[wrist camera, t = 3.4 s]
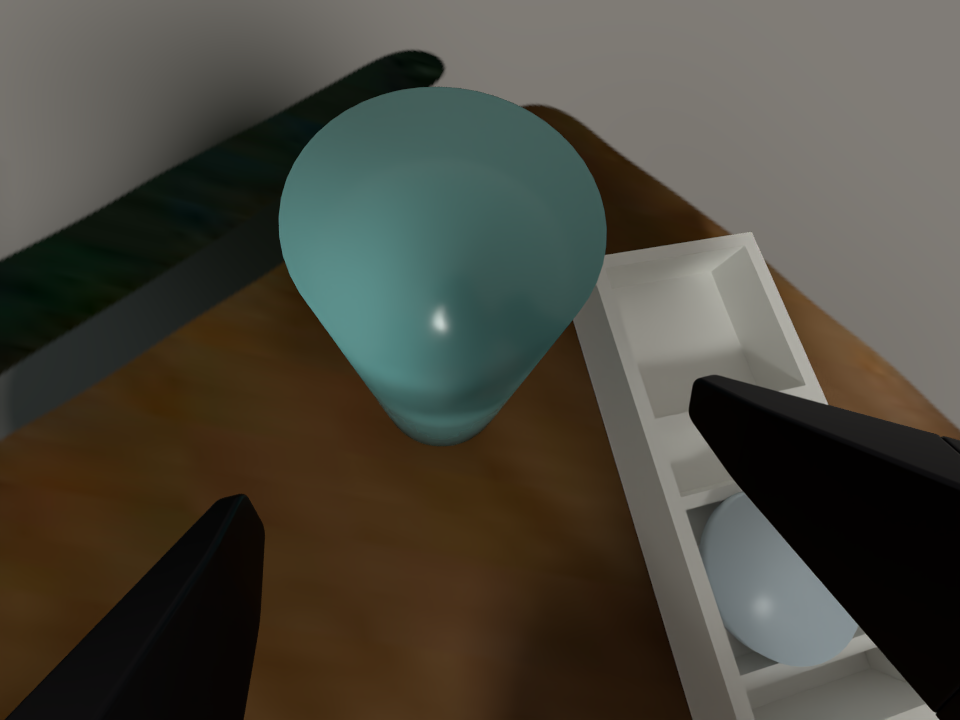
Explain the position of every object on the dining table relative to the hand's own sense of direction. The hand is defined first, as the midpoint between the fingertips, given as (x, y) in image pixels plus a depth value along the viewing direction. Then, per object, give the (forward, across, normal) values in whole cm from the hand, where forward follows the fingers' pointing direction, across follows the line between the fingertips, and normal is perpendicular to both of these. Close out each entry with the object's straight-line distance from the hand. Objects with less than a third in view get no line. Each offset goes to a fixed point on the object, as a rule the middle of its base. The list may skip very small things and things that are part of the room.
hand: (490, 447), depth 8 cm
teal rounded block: (+10, 0, +5) cm, 11 cm away
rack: (+6, -11, +9) cm, 15 cm away
